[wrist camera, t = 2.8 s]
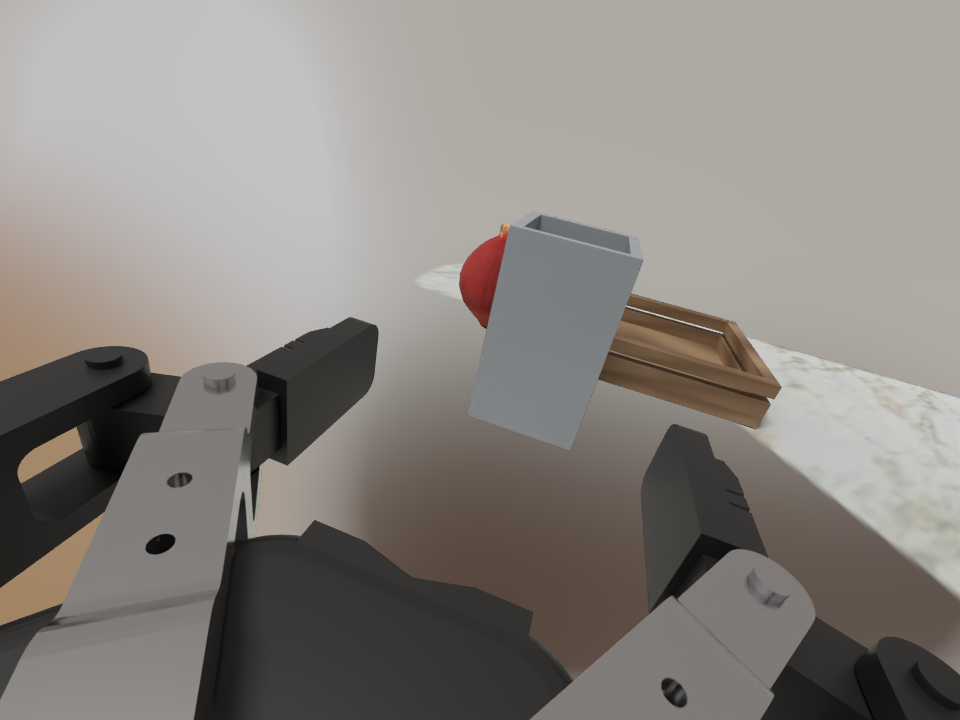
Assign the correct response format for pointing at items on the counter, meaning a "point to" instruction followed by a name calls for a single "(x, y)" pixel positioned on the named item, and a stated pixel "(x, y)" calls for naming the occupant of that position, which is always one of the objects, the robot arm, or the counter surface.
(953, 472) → the counter surface
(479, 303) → the onion
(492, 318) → the gray square holder
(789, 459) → the counter surface
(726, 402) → the tray
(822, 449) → the counter surface
